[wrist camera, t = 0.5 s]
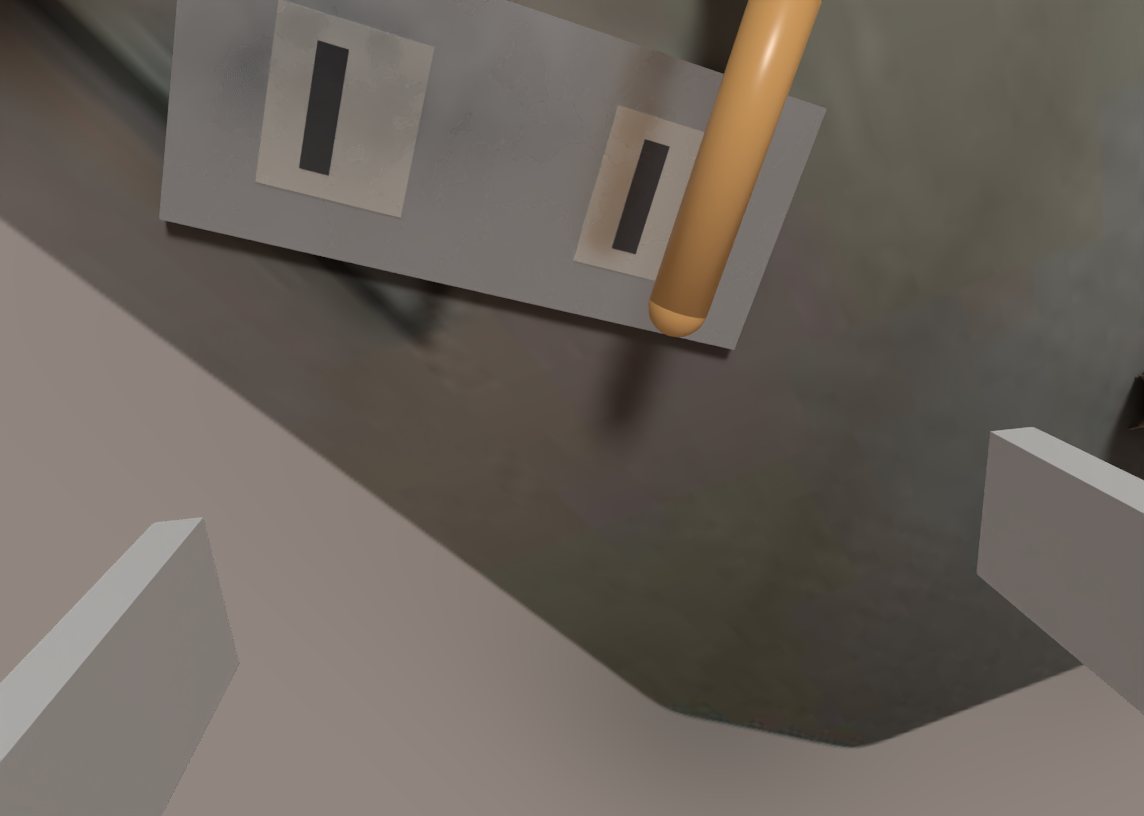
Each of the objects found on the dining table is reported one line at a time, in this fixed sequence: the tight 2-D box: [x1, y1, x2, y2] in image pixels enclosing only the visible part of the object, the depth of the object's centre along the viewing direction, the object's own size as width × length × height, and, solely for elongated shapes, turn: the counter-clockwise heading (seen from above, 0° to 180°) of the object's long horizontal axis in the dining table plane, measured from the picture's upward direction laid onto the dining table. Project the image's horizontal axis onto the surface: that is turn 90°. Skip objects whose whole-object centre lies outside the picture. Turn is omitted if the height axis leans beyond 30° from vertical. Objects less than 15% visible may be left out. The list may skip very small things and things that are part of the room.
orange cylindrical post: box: [648, 0, 822, 337], centre depth 28 cm, size 18×4×3 cm, turn 164°
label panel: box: [159, 0, 827, 350], centre depth 34 cm, size 12×27×1 cm, turn 74°
